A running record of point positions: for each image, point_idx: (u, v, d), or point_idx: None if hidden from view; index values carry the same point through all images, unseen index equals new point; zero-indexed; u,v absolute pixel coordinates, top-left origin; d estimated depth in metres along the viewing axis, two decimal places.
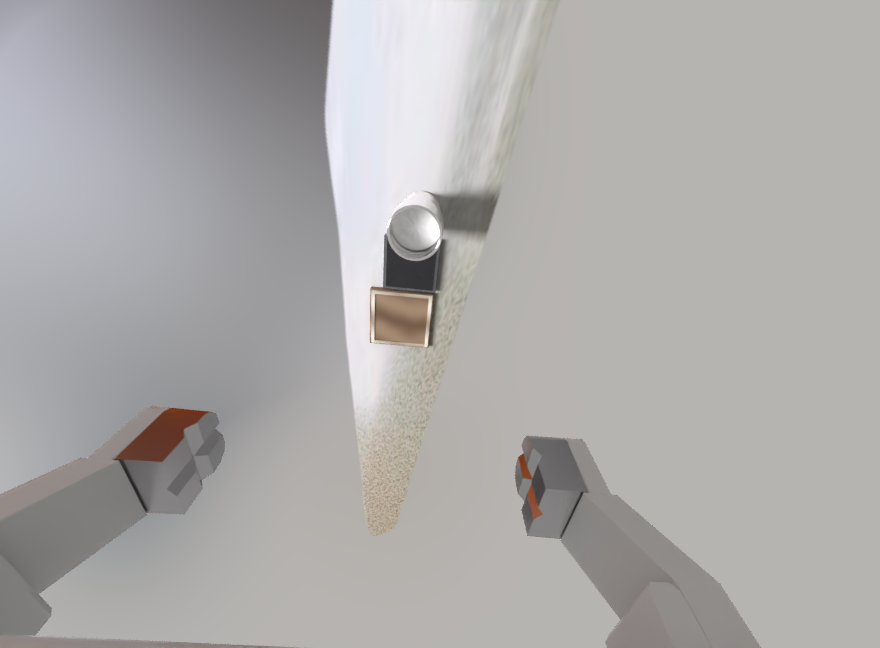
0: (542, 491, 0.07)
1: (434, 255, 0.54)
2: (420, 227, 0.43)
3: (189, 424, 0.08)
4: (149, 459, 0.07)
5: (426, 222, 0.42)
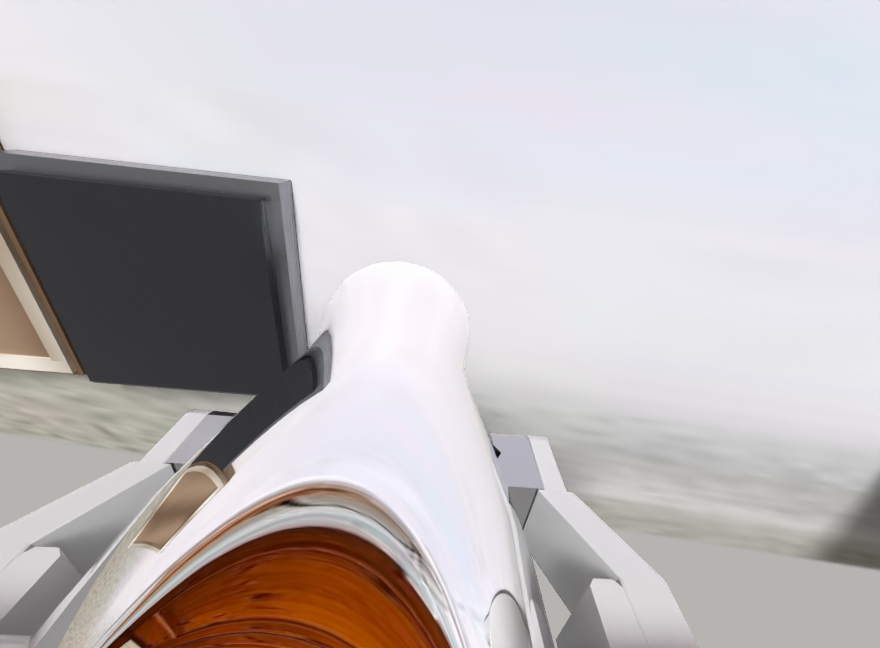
0: None
1: (241, 388, 0.14)
2: None
3: None
4: None
5: None
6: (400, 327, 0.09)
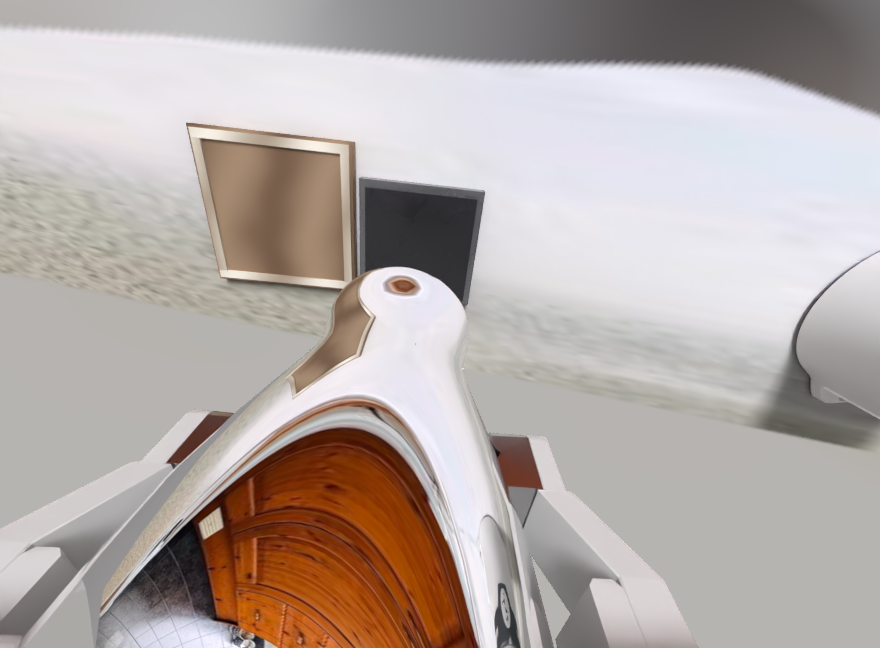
0: None
1: None
2: None
3: None
4: None
5: None
6: (402, 326, 0.09)
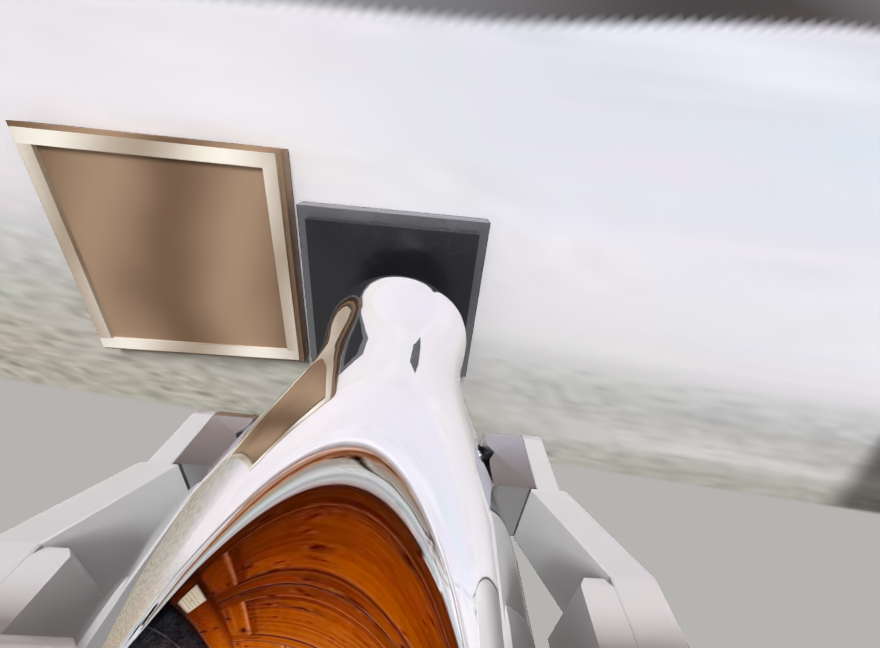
0: None
1: None
2: None
3: (240, 428, 0.08)
4: (207, 463, 0.07)
5: None
6: (398, 342, 0.10)
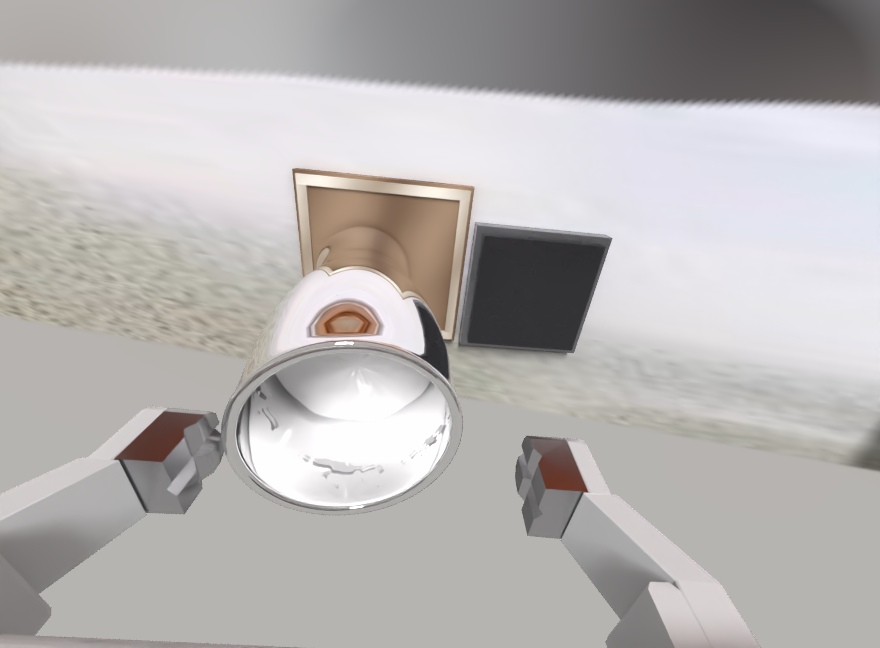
0: (542, 491, 0.07)
1: (549, 345, 0.25)
2: (356, 374, 0.13)
3: (189, 424, 0.08)
4: (149, 459, 0.07)
5: (374, 388, 0.13)
6: (370, 251, 0.17)
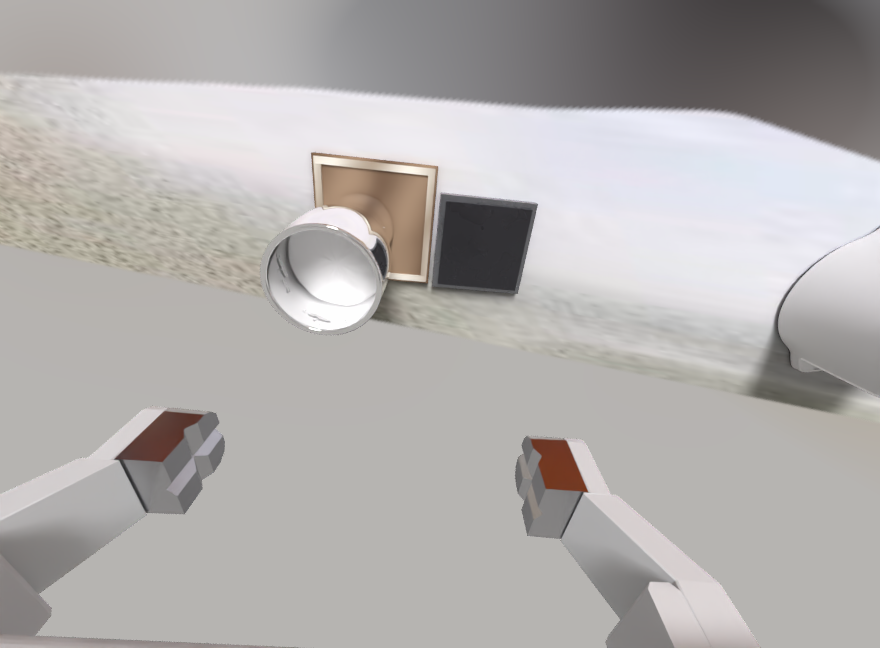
0: (542, 491, 0.07)
1: (498, 286, 0.34)
2: (336, 269, 0.22)
3: (189, 424, 0.08)
4: (149, 459, 0.07)
5: (347, 280, 0.22)
6: (358, 205, 0.26)
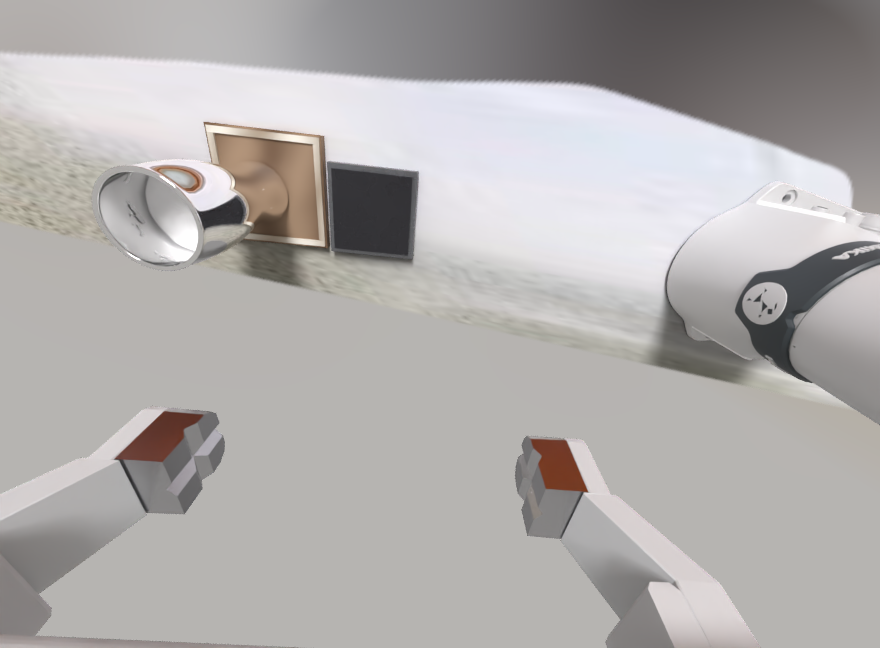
0: (542, 491, 0.07)
1: (391, 251, 0.37)
2: (189, 218, 0.25)
3: (189, 424, 0.08)
4: (149, 459, 0.07)
5: None
6: (234, 168, 0.29)
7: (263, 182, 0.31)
